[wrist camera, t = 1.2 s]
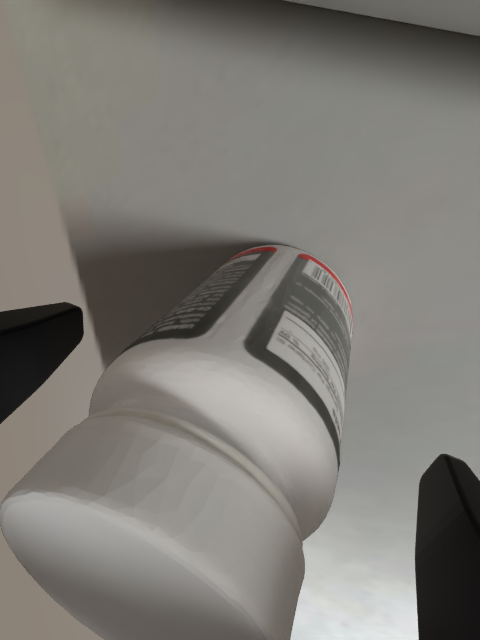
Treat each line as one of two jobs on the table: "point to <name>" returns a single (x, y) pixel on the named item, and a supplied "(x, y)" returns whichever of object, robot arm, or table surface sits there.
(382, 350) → the table surface
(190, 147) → the table surface
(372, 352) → the table surface
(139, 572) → the pill bottle
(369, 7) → the acrylic wall
